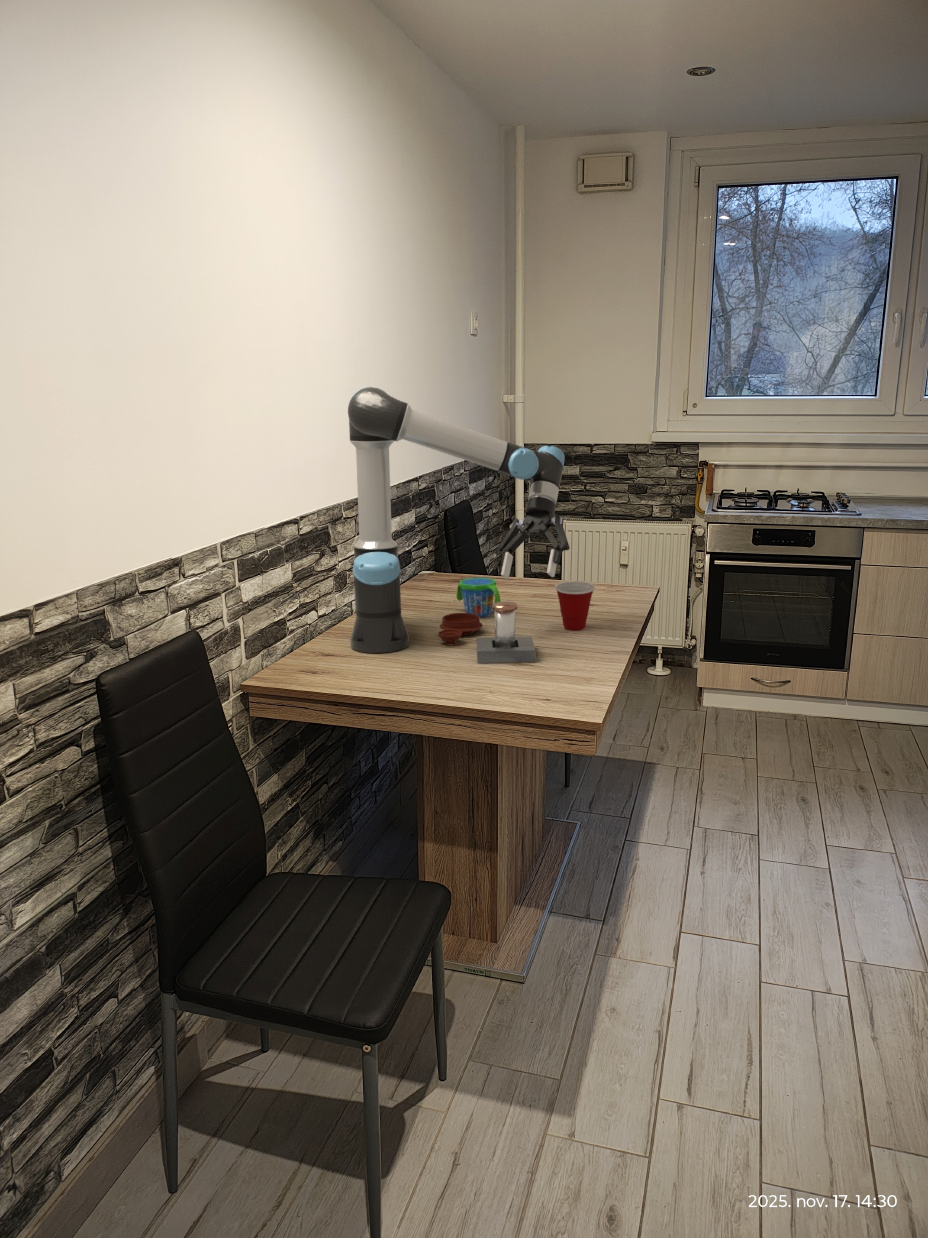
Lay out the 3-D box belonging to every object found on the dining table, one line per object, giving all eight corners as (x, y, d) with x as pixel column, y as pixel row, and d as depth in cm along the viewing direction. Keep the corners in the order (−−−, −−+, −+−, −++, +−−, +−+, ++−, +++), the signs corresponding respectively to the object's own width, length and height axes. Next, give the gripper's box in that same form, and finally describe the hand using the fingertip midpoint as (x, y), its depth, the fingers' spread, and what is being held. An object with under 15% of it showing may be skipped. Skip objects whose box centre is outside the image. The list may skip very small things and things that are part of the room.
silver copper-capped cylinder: (493, 659, 217) (492, 607, 214) (492, 652, 223) (492, 601, 220) (518, 658, 217) (517, 607, 214) (516, 651, 223) (516, 601, 220)
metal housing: (477, 663, 214) (477, 651, 214) (476, 648, 226) (476, 637, 225) (535, 662, 214) (535, 650, 214) (531, 647, 226) (531, 636, 225)
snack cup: (447, 613, 262) (446, 579, 259) (474, 607, 268) (474, 574, 265) (481, 623, 250) (481, 588, 247) (509, 617, 256) (509, 582, 254)
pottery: (487, 628, 246) (487, 613, 244) (468, 648, 227) (468, 632, 226) (446, 626, 249) (446, 611, 247) (425, 646, 230) (424, 630, 229)
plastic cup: (553, 633, 239) (554, 589, 236) (554, 622, 249) (555, 580, 246) (594, 633, 238) (595, 590, 234) (594, 623, 248) (594, 581, 245)
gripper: (590, 505, 230) (577, 580, 224) (508, 512, 245) (493, 583, 238) (578, 491, 225) (563, 567, 218) (495, 499, 239) (479, 571, 232)
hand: (527, 576), depth 228 cm, fingers open, 13 cm apart
